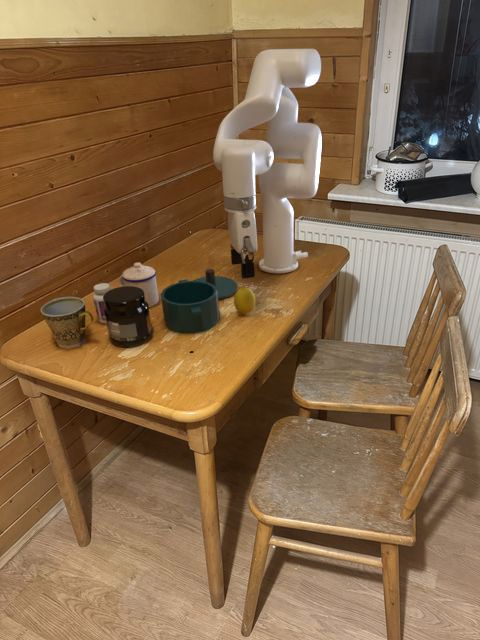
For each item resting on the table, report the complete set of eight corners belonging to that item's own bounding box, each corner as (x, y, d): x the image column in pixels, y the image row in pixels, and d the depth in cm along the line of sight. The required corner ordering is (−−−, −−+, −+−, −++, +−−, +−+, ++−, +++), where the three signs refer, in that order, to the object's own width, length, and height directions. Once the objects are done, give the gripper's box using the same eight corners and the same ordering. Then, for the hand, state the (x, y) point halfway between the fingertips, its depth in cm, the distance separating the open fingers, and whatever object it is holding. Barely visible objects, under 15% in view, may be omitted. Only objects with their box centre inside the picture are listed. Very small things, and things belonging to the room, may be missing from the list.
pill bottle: (122, 316, 136) (116, 283, 131) (111, 325, 132) (104, 291, 126) (105, 313, 137) (98, 280, 132) (94, 322, 133) (86, 289, 128)
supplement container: (153, 325, 131) (146, 282, 125) (153, 346, 122) (145, 301, 116) (111, 329, 130) (102, 286, 123) (108, 351, 121) (98, 306, 114)
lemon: (234, 310, 137) (233, 283, 133) (255, 309, 137) (254, 282, 133) (235, 320, 132) (233, 292, 128) (256, 318, 133) (255, 291, 128)
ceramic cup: (42, 348, 122) (31, 312, 117) (68, 329, 130) (59, 294, 125) (86, 358, 119) (77, 320, 113) (111, 337, 126) (103, 301, 121)
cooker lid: (230, 276, 156) (228, 257, 153) (243, 297, 144) (242, 277, 141) (181, 284, 152) (179, 264, 149) (190, 305, 140) (188, 285, 137)
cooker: (210, 300, 143) (208, 273, 139) (227, 332, 127) (225, 304, 123) (160, 308, 139) (156, 281, 135) (171, 342, 123) (166, 313, 119)
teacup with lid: (166, 298, 144) (161, 260, 138) (146, 312, 137) (139, 272, 131) (133, 291, 149) (127, 253, 143) (112, 303, 142) (104, 265, 136)
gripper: (266, 210, 113) (267, 281, 122) (245, 192, 127) (247, 257, 136) (233, 214, 111) (237, 285, 120) (216, 195, 125) (220, 260, 134)
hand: (242, 270), depth 128 cm, fingers open, 9 cm apart
